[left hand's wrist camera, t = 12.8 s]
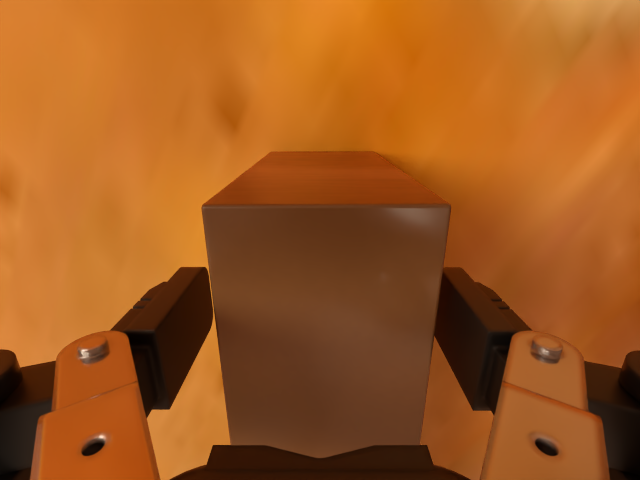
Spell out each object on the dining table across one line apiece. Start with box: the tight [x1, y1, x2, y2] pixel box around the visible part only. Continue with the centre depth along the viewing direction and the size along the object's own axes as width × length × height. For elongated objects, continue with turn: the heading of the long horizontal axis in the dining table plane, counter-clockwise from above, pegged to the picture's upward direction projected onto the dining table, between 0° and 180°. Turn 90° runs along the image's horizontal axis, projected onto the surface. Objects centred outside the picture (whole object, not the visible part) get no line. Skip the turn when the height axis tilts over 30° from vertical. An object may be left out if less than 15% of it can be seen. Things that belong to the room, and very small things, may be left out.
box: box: [202, 152, 451, 458], centre depth 18 cm, size 25×6×12 cm, turn 0°
